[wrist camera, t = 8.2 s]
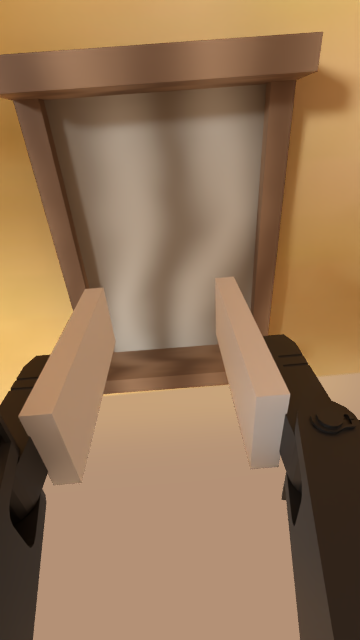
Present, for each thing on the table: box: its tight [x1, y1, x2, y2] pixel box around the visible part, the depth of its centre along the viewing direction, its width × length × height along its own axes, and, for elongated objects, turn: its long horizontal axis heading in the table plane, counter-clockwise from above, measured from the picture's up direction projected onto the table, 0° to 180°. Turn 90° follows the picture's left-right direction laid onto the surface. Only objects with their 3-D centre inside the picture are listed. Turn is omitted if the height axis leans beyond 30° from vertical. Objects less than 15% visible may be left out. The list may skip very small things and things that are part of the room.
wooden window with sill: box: [0, 32, 323, 394], centre depth 23 cm, size 17×23×4 cm
